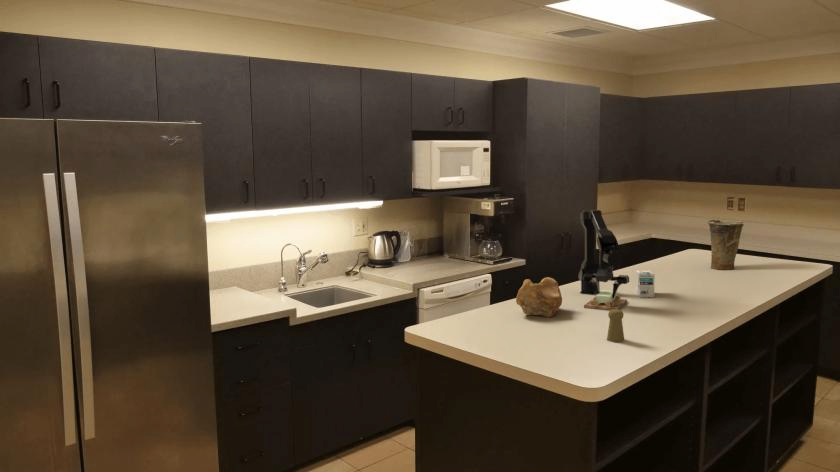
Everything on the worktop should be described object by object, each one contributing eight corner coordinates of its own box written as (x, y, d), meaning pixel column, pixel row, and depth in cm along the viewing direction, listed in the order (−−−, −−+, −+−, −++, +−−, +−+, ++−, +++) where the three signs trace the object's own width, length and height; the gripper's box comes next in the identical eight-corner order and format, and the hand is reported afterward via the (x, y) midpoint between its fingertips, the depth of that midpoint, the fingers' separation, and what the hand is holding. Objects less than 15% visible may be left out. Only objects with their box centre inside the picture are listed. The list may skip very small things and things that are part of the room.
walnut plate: (584, 307, 272) (584, 300, 272) (595, 299, 287) (595, 292, 287) (616, 311, 265) (616, 303, 265) (627, 302, 280) (627, 295, 280)
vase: (706, 264, 363) (708, 218, 359) (741, 266, 355) (743, 219, 351) (705, 270, 347) (707, 222, 343) (742, 272, 339) (744, 222, 335)
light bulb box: (654, 297, 287) (655, 274, 286) (639, 297, 289) (639, 274, 287) (650, 292, 298) (651, 270, 296) (636, 292, 299) (636, 270, 298)
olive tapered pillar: (604, 337, 228) (604, 308, 226) (620, 337, 228) (620, 307, 227) (610, 342, 222) (610, 312, 220) (627, 341, 222) (627, 311, 221)
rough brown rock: (541, 325, 251) (545, 288, 248) (509, 314, 263) (512, 279, 260) (575, 315, 266) (578, 281, 264) (543, 306, 278) (546, 273, 276)
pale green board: (596, 302, 272) (596, 295, 272) (601, 296, 283) (601, 289, 282) (610, 303, 269) (610, 296, 269) (615, 297, 280) (615, 290, 279)
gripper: (579, 264, 272) (579, 299, 274) (623, 266, 262) (622, 303, 264) (587, 260, 281) (587, 294, 283) (629, 262, 272) (629, 297, 274)
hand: (605, 297), depth 276 cm, fingers closed on pale green board, 6 cm apart
